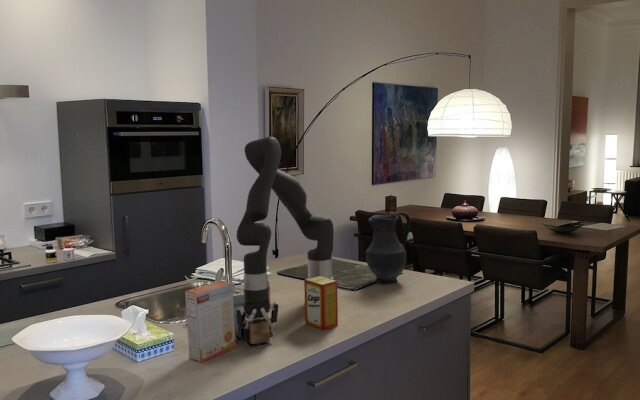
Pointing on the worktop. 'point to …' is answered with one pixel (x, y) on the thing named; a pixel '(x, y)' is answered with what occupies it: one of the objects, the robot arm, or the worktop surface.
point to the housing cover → (238, 303)
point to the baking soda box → (321, 302)
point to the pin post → (257, 344)
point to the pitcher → (387, 248)
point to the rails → (237, 340)
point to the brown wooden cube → (259, 331)
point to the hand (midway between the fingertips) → (257, 337)
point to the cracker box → (210, 320)
